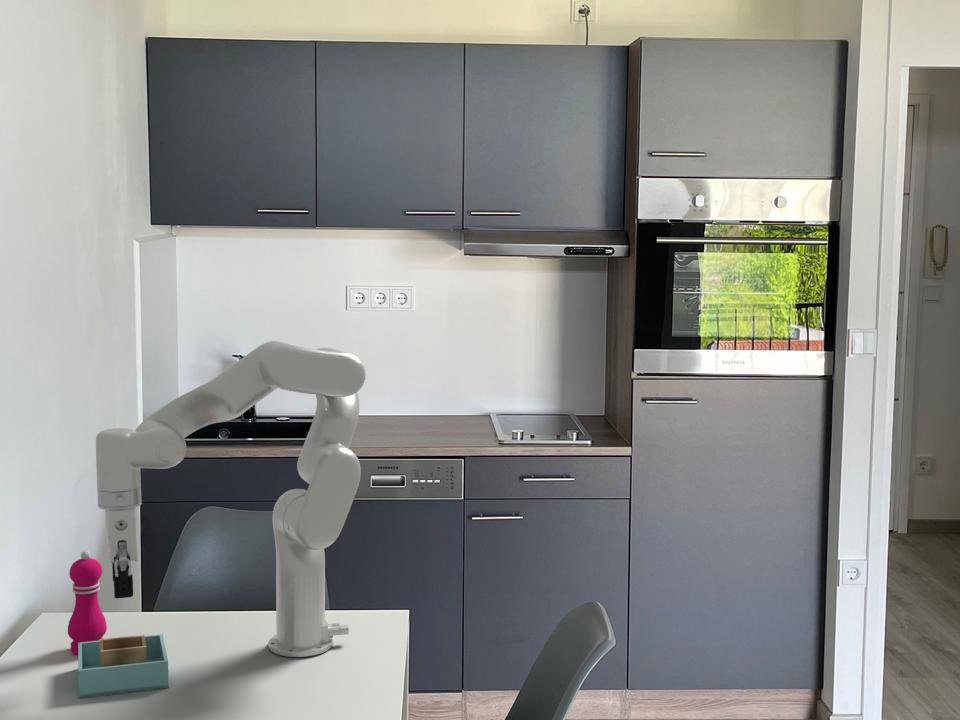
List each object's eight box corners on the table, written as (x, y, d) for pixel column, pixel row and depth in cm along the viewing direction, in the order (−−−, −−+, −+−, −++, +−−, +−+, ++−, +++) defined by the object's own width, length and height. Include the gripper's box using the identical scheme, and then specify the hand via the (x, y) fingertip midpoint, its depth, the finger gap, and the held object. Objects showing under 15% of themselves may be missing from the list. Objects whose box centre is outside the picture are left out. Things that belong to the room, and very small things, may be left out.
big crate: (163, 659, 214) (162, 634, 214) (168, 687, 201) (168, 661, 200) (79, 668, 209) (78, 642, 209) (79, 698, 196) (78, 671, 195)
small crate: (144, 665, 210) (144, 634, 209) (146, 678, 204) (146, 647, 203) (100, 670, 207) (99, 639, 206) (100, 683, 201) (99, 651, 200)
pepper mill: (94, 658, 214) (92, 557, 212) (60, 655, 215) (57, 554, 213) (114, 645, 221) (112, 547, 219) (81, 642, 222) (78, 544, 220)
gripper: (143, 507, 194) (147, 601, 197) (138, 485, 211) (141, 572, 213) (98, 510, 192) (102, 606, 194) (96, 488, 208) (100, 576, 210)
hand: (122, 588), depth 203 cm, fingers open, 9 cm apart
